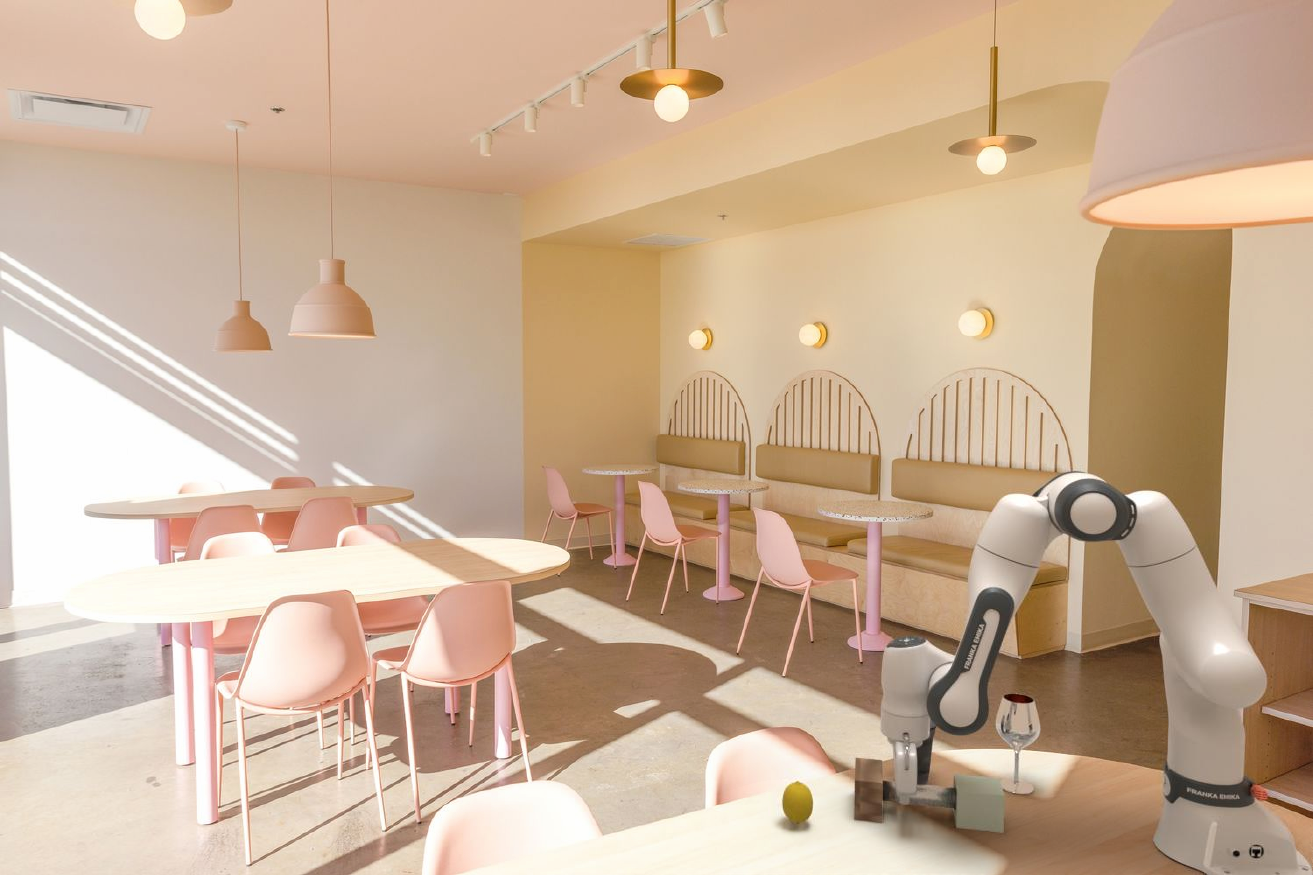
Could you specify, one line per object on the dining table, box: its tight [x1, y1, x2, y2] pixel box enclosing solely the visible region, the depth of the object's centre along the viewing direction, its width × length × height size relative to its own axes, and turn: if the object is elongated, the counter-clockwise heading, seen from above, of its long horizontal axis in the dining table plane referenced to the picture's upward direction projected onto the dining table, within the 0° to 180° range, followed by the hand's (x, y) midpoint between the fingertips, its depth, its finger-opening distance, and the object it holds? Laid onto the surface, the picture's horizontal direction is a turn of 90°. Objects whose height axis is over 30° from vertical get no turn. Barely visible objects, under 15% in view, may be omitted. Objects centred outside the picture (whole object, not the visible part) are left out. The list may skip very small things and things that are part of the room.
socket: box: [853, 757, 884, 824], centre depth 165 cm, size 5×10×8 cm, turn 166°
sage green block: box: [952, 773, 1006, 834], centre depth 161 cm, size 8×7×7 cm
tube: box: [883, 779, 957, 810], centre depth 163 cm, size 16×4×4 cm, turn 76°
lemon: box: [781, 780, 814, 825], centre depth 160 cm, size 6×6×8 cm
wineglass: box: [995, 692, 1041, 795], centre depth 174 cm, size 8×8×18 cm
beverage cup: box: [916, 719, 937, 785], centre depth 177 cm, size 7×7×20 cm
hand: (903, 796), depth 164 cm, fingers closed on tube, 4 cm apart
